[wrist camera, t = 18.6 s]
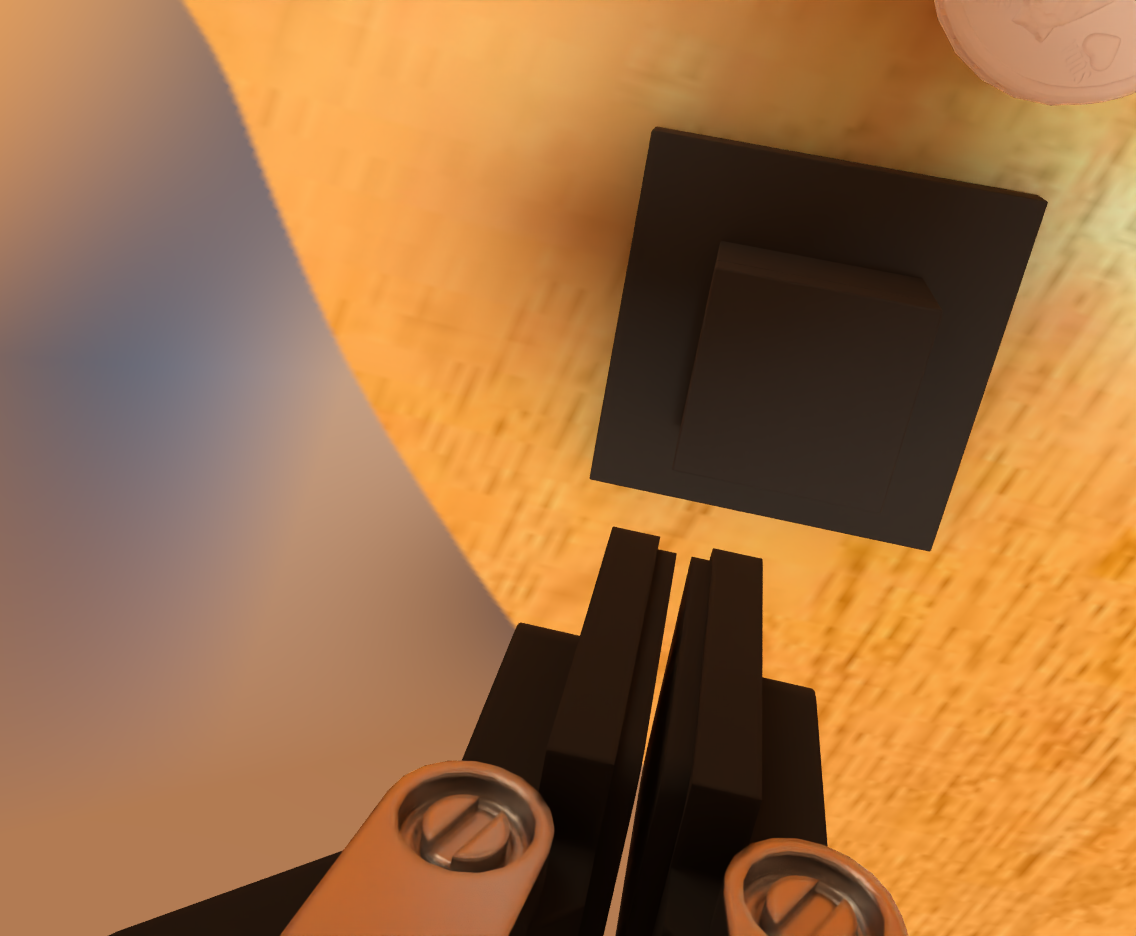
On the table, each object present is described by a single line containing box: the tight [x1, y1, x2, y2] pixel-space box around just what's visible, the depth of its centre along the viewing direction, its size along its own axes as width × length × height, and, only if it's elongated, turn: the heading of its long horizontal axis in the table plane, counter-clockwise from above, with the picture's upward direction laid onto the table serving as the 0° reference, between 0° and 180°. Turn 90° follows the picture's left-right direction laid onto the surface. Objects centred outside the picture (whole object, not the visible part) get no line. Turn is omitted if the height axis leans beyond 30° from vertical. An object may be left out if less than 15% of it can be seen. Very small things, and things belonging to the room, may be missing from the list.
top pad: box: [672, 241, 943, 514], centre depth 33 cm, size 6×6×4 cm
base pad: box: [590, 127, 1048, 551], centre depth 34 cm, size 12×12×3 cm
